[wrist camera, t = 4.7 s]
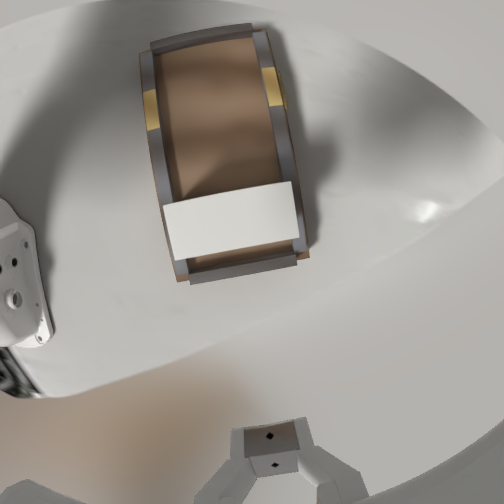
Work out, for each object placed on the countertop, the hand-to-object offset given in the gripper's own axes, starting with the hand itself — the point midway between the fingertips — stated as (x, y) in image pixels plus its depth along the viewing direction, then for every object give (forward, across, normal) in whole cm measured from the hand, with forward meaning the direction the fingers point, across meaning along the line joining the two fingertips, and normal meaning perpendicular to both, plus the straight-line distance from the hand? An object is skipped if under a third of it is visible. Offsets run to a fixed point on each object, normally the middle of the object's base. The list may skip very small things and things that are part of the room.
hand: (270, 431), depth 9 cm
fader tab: (+18, 0, -7) cm, 19 cm away
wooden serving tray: (+20, 0, -14) cm, 24 cm away
